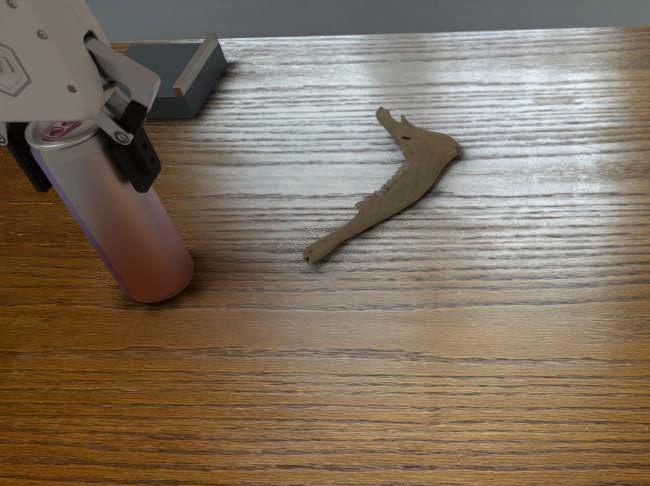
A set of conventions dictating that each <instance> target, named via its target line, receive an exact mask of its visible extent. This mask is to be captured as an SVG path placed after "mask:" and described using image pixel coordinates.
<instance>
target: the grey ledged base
mask: <svg viewBox="0 0 650 486" xmlns="http://www.w3.org/2000/svg"><path fill="white" fill-rule="evenodd" d="M123 55H125V56H127V57H129V58H130V59H132V60H134V61H135V62H137V63H139V64H141V65H142V66H144V67H146V68H148V69H149V70H151V71H153V72H155V73H156V74H157V75H158V76H159V77H160V79H161V83H160V86H159V89H158V91H157V94H156V97H155V99H154V104H153V106H152V108H151V110H150V112H149V114H148V116H147V118H146V120H154V119H155V120H168V119H172V120H173V119H174V120H175V119H176V120H177V119H179V120H180V119H183V120H185V119H186V120H187V119H188V120H189V119H195V118H196V117H197V115H198V113H199V112H200V110H201V109H202V107H203V105H204V103H205V102H206V100H207V99H208V97H209V96H210V94H211V92H212V91H213V89H214V87H215V86H216V84H218V83H217V82H218V81H219V79H220V78H221V76H222V74H223V73H224V71H225V70H226V68H227V66H228V65H229V64H228V61H227V59H226V56H225V53H224V51H223V48H222V46H221V44H220V41H219V39H218V36H217V33H216V32H214V33H213V32H209V33H207V34H206V36H205V38H204V39H203V41H202V42H175V43H174V42H171V43H132V44H130V45H129V47H128V48H127V49H126V51H125V52H124V53H123ZM116 86H117V87H118V88H119V89H120V90H121V91H122V92H123V93H124V94H126V95H127V96H128V97H129V98H130V96H131V92H130V90H129V89H128V88H127V87H126V86H124V85H123V84H121V83H120V84H118V85H116ZM104 106H105V107H106V109H108V110H109V111H110V112H111V113H112V114H113V115H114V116H115V117H116V118H118V119H119V120H120V119H121V117H122V115H121V114H120V113H119V112H118V111H117V110H116V109H114V108H113V107H112V106H111V105H110V104H109V103H108V102H107V103H106V104H105V105H104Z"/></svg>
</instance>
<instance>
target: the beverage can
mask: <svg viewBox="0 0 650 486" xmlns="http://www.w3.org/2000/svg"><path fill="white" fill-rule="evenodd" d="M104 107H105V106H104ZM105 108H106V107H105ZM24 136H25V139H26V141H27V142H28V144H29V146H30V151H31V154H32V155H33V157H34V158H35V160H36V161H37V163H38V164H39V166H40V167H41V169H42V170H43V172H44V173H45V175H46V176H47V178H48V179H49V181H50V182H51V184H52V185H53V186H52V187H53V188H54V190H55V191H56V193H57V194H58V196H59V198H60V200H61V201H62V203H63V204H64V205H65V207H66V208H67V209H68V212H69V213H70V214H71V216H72V217H73V219H74V220H75V222H76V223H77V225H78V226H79V228H80V229H81V231H82V232H83V234H84V235H85V237H86V238H87V240H88V242H89V243H90V245H91V246H92V247H93V249H94V250H95V252H96V253H97V255H98V256H99V258H100V259H101V261H102V263H103V264H104V265H105V267H106V268H107V270H108V271H109V273H110V274H111V276H112V277H113V279H114V281H115V282H116V283H117V285H118V286H119V288H120V290H121V291H122V292H123V294H124V295H125V296H127V297H128V298H130V299H132V300H134V301H137V302H139V303H145V304H154V303H160V302H164V301H167V300H169V299H172V298H174V297H175V296H178V295H179V294H180V293H182V292H183V291H184V290H185V289H186V288H187V287H188V285H189V284H190V283H191V281H192V278H193V276H194V270H195V265H194V264H195V263H194V260H193V258H192V256H191V254H190V252H189V250H188V249H187V247H186V245H185V243H184V242H183V240H182V238H181V236H180V234H179V232H178V231H177V229H176V227H175V225H174V223H173V221H172V220H171V218H170V216H169V214H168V212H167V210H166V209H165V207H164V205H163V203H162V202H161V200H160V197H159V196H158V194H157V193H156V190H155V189H154V187H153V185H152V186H151V187H150V189H149V191H148V192H147V193H138V192H137V191H136V190H135V189H134V188H133V186H132V184H131V182H130V181H129V179H128V177H127V175H126V174H125V172H124V170H123V168H122V167H121V165H120V163H119V161H118V160H117V158H116V156H115V154H114V153H113V151H112V146H113V144H114V143H115V140H114V139H113V138H112V137H111V136H110V135H109V134H107V133H106V132H105V131H104V130H103V129H102V128H101V127H99V126H98V125H97V124H96V123H95V122H94V121H93V120H92V119H90V120H85V121H73V122H29V124H28V125H27V127H26V129H25V132H24Z"/></svg>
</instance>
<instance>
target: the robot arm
mask: <svg viewBox="0 0 650 486" xmlns="http://www.w3.org/2000/svg"><path fill="white" fill-rule="evenodd" d="M120 83H121V84H123V85H124V86H126V87H127V88H128V89H129V90H130V92H131V96H130V98H129V97H128V96H127V95H126V94H124V93H123V92H122V91H121V90H120V89H119V88H118V87H117V86H116V85H118V84H120ZM160 83H161V79H160V77H159V76H158V75H157V74H156V73H155V72H153V71H151V70H149V69H148V68H146V67H144V66H142V65H141V64H139V63H137V62H135V61H134V60H132V59H130V58H129V57H127V56H125V55H124V53H121V52H120V51H118V50H116V48H115V49H114V48H113V47H112V45H111V43H110V41H109V40H108V37H106V34H105V33H104V31H103V29H102V27H101V25H100V24H99V22H98V20H97V18H96V16H95V15H94V13H93V12H92V10H91V8H90V6H89V5H88V4H87V2H86V0H0V146H3V147H5V146H6V149H7V151H8V152H9V153H10V155H11V156H12V157H13V159H14V160H15V162H16V163H17V165H18V166H19V168H20V169H21V171H22V172H23V174H24V175H25V176H26V178H27V179H28V181H29V182H30V183H31V185H32V187H33V188H34V190H35V191H36V192H37V193H48V192H49V191H50V190H51V189H52V187H53V185H52V184H51V182H50V181H49V179H48V178H47V176H46V175H45V173H44V172H43V170H42V169H41V167H40V166H39V164H38V163H37V161H36V160H35V158H34V157H33V155H32V154H31V151H30V146H29V144H28V142H27V141H26V139H25V136H24V132H25V129H26V127H27V125H28V124H29V122H73V121H85V120H90V119H92V120H93V121H94V122H95V123H96V124H97V125H98V126H99V127H101V128H102V129H103V130H104V131H105V132H106V133H107V134H109V135H110V136H111V137H112V138H113V139H114V140H115V143H114V144H113V146H112V151H113V153H114V154H115V156H116V158H117V160H118V161H119V163H120V165H121V167H122V168H123V170H124V172H125V174H126V175H127V177H128V179H129V181H130V182H131V184H132V186H133V188H134V189H135V190H136V191H137V192H138V193H147V192H148V191H149V189H150V187H151V186H152V187H153V184H154V183H155V181H156V179H158V176H159V175H160V173H161V171H162V164H161V159H160V157H159V155H158V154H157V151H156V150H155V147H154V146H153V143H152V142H151V140H150V138H149V136H148V134H147V133H146V131H145V128H144V127H143V125H144V124H145V122H146V120H147V119H146V118H147V116H148V114H149V112H150V110H151V108H152V106H153V104H154V99H155V97H156V94H157V91H158V89H159V86H160ZM107 102H108V103H109V104H110V105H111V106H112V107H113V108H114V109H116V110H117V111H118V112H119V113H120V114H121V115H122V117H121V119H118V118H116V117H115V116H114V115H113V114H112V113H111V112H110V111H109V110H108V109H106V108H105V107H104V105H105V104H106V103H107Z"/></svg>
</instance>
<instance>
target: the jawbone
mask: <svg viewBox="0 0 650 486" xmlns="http://www.w3.org/2000/svg"><path fill="white" fill-rule="evenodd" d="M375 118H376V120H377V122H378V123H379V124H380V125H381V126H382V127H383V129H385V130H386V132H387V133H388V134H389V135H390V136H391V137H392V138H393V139H394V140H395V142H397V145H398V146H399V148H400V150H401V153H402V155H403V157H404V162H402V163H401V164H400V166H399V167H398V168H397V170H396V171H395V172H394V174H393V175H391V178H390V179H388V180H387V182H385V183H384V184H382V186H381V188H380V189H378V190H377V189H375V190H374V191H373V194H369V195H366V196H365V197H364V198H363V200H360V201H357V202H356V203H354V207H355V209H357V210H358V212H357V214H356V215H355V216H353V218H352V219H350V220H349V221H348V222H346V223H345V224H344V225H342V226H341V227H339V228H337V229H336V230H334V231H333V232H331V233H329V234H327V235H325V236H323V237H321V238H320V239H317V240H316V241H314V242H313V243H311V244H309V245H306V246H305V248H304V250H302V252H303V253H302V259H303V260H304V261H305V263H307V264H306V266H307V265H308V266H309V265H310V264H313V263H315V262H317V261H319V260H321V259H323V258H324V257H325V256H327V255H328V254H331V252H332V251H333V250H334V249H335V248H336V247H338V245H340V244H341V243H342V242H343V241H346V240H347V239H350V238H352V237H355V236H356V235H358V234H360V233H362V232H363V231H365V230H367V229H368V228H370V227H372V226H374V225H377V224H379V223H381V222H382V221H383V220H387V219H388V218H390V217H392V216H393V215H396V214H397V213H399V212H400V211H402V210H404V209H406V208H408V207H409V206H410V205H412V204H413V203H415V202H417V201H418V200H419V199H421V198H422V197H423V196H424V195H425V194H426V193H427V192H428V191H429V190H430V188H431V187H432V186H433V185H434V183H435V182H436V180H437V179H438V177H439V175H440V173H441V172H442V170H443V169H444V168H445V166H446V165H447V164H448V163H449V162H451V160H453V159H454V158H456V157H458V155H459V153H460V143H459V141H457V140H456V139H455V138H454V137H453V136H450V135H448V134H447V133H444V132H438V131H431V130H427V129H423V128H420V127H417V126H415V125H414V124H412V123H411V122H410V121H409V120H408V119H407V118H406V116H405V115H403V114H401V115H400V121H398V120H396V119H394V118H393V116H391V110H390V109H386V108H385V107H384V106H382V105H381V106H379V107H378V108H377V109H376V110H375Z"/></svg>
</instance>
